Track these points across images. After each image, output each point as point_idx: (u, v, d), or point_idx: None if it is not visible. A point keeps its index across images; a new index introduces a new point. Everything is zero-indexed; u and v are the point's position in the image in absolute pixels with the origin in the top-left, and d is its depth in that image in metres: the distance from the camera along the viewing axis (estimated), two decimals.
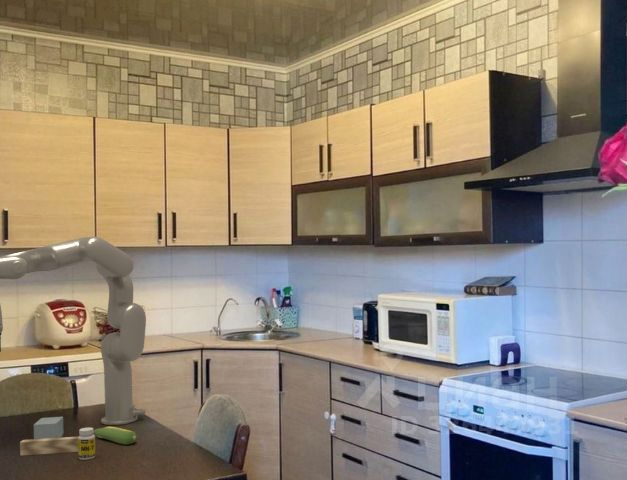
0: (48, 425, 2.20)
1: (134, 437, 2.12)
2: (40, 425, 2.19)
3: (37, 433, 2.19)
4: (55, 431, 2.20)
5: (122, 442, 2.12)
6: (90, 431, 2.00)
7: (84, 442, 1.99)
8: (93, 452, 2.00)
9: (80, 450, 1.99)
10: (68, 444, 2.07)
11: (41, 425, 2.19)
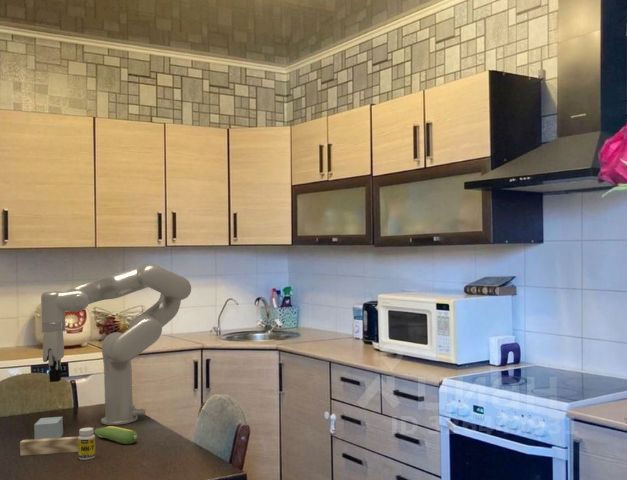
0: (49, 425, 2.20)
1: (135, 436, 2.13)
2: (41, 425, 2.19)
3: (37, 433, 2.19)
4: (56, 431, 2.20)
5: (123, 441, 2.13)
6: (90, 431, 2.00)
7: (84, 442, 1.99)
8: (93, 452, 2.00)
9: (80, 450, 1.99)
10: (68, 444, 2.07)
11: (42, 425, 2.19)
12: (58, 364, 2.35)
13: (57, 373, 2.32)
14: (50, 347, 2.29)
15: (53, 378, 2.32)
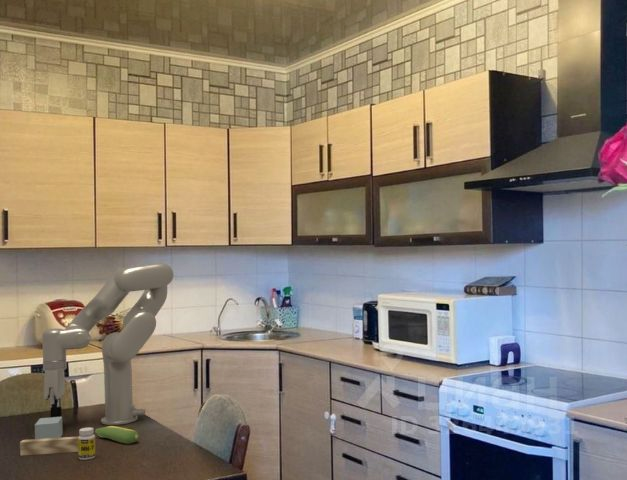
0: (49, 425, 2.20)
1: (136, 436, 2.13)
2: (41, 425, 2.19)
3: (38, 433, 2.19)
4: (56, 431, 2.20)
5: (124, 441, 2.13)
6: (90, 431, 2.00)
7: (84, 442, 1.99)
8: (93, 452, 2.00)
9: (80, 450, 1.99)
10: (68, 444, 2.07)
11: (42, 425, 2.19)
12: (59, 402, 2.34)
13: (58, 411, 2.33)
14: (51, 386, 2.29)
15: (54, 416, 2.32)
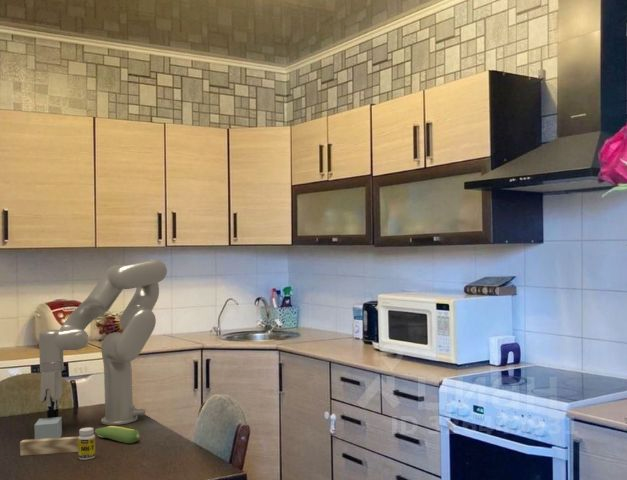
0: (49, 425, 2.19)
1: (138, 436, 2.14)
2: (41, 425, 2.19)
3: (37, 434, 2.19)
4: (56, 431, 2.20)
5: (126, 441, 2.14)
6: (90, 431, 2.00)
7: (84, 442, 1.99)
8: (93, 452, 2.00)
9: (80, 450, 1.99)
10: (68, 444, 2.07)
11: (42, 425, 2.19)
12: (56, 404, 2.31)
13: (55, 413, 2.29)
14: (48, 387, 2.25)
15: None
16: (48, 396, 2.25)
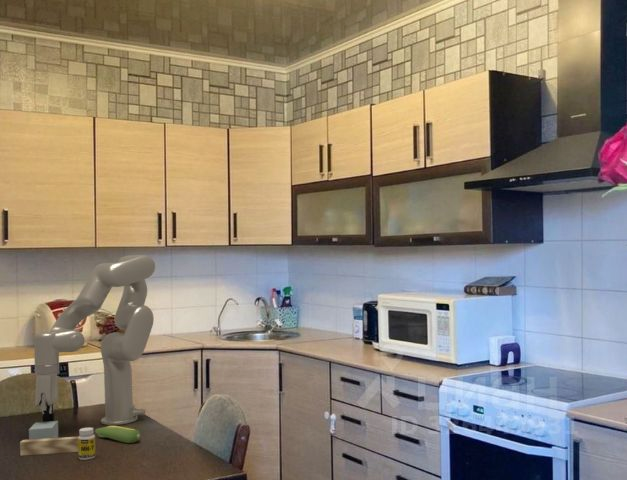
0: (44, 430, 2.14)
1: (138, 435, 2.14)
2: (35, 430, 2.13)
3: (32, 438, 2.13)
4: (51, 436, 2.14)
5: (126, 440, 2.14)
6: (90, 431, 2.00)
7: (84, 442, 1.99)
8: (93, 452, 2.00)
9: (80, 450, 1.99)
10: (68, 444, 2.07)
11: (37, 430, 2.13)
12: None
13: (51, 417, 2.23)
14: (43, 391, 2.19)
15: None
16: (43, 400, 2.20)
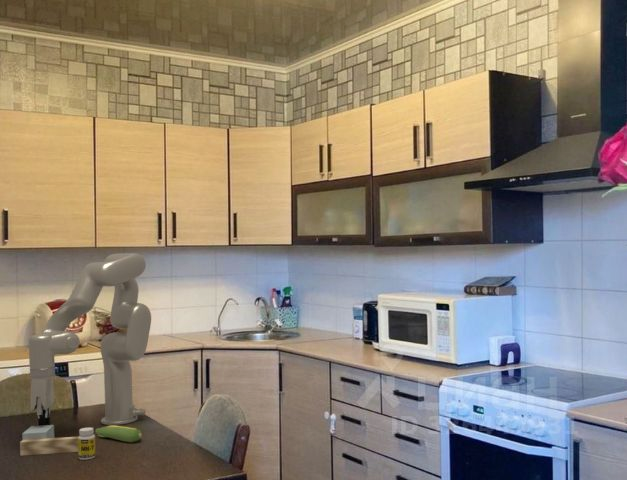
0: (38, 434, 2.08)
1: (140, 435, 2.15)
2: (29, 434, 2.08)
3: None
4: None
5: (128, 440, 2.15)
6: (90, 431, 2.00)
7: (84, 442, 1.99)
8: (93, 452, 2.00)
9: (80, 450, 1.99)
10: (68, 444, 2.07)
11: (30, 434, 2.08)
12: None
13: (47, 421, 2.18)
14: (38, 395, 2.14)
15: None
16: (39, 404, 2.14)
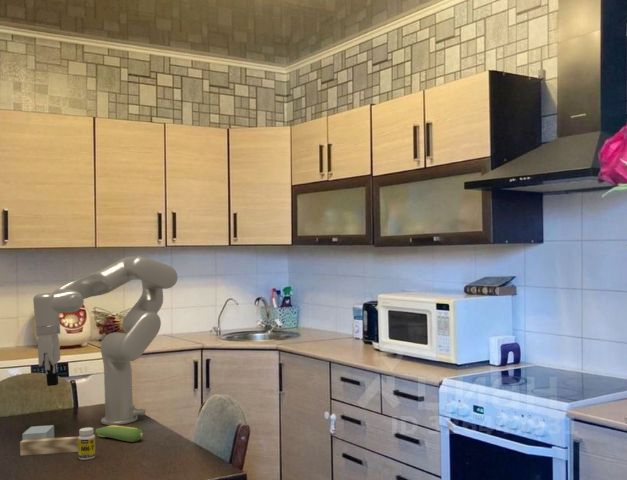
0: (38, 434, 2.08)
1: (141, 434, 2.16)
2: (29, 434, 2.08)
3: None
4: None
5: (129, 439, 2.15)
6: (90, 431, 2.00)
7: (84, 442, 1.99)
8: (93, 452, 2.00)
9: (80, 450, 1.99)
10: (68, 444, 2.07)
11: (30, 434, 2.08)
12: (54, 368, 2.28)
13: (54, 377, 2.26)
14: (45, 351, 2.22)
15: (51, 382, 2.25)
16: (46, 360, 2.22)
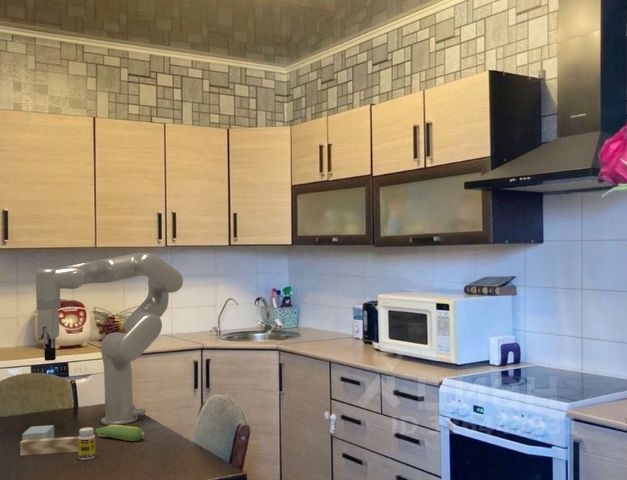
0: (38, 434, 2.08)
1: (143, 433, 2.16)
2: (29, 434, 2.08)
3: None
4: None
5: (130, 439, 2.16)
6: (90, 431, 2.00)
7: (84, 442, 1.99)
8: (93, 452, 2.00)
9: (80, 450, 1.99)
10: (68, 444, 2.07)
11: (30, 434, 2.08)
12: (53, 343, 2.29)
13: (52, 352, 2.28)
14: (45, 325, 2.23)
15: (48, 357, 2.27)
16: (45, 334, 2.24)
